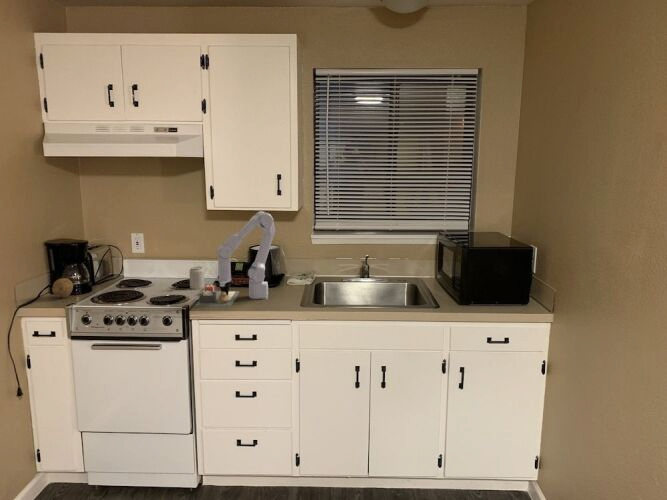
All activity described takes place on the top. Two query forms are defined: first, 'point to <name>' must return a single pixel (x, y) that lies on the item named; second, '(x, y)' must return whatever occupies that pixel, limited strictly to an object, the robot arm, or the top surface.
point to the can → (196, 277)
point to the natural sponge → (62, 287)
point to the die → (209, 288)
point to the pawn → (223, 298)
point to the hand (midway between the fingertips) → (225, 297)
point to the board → (216, 299)
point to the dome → (207, 293)
